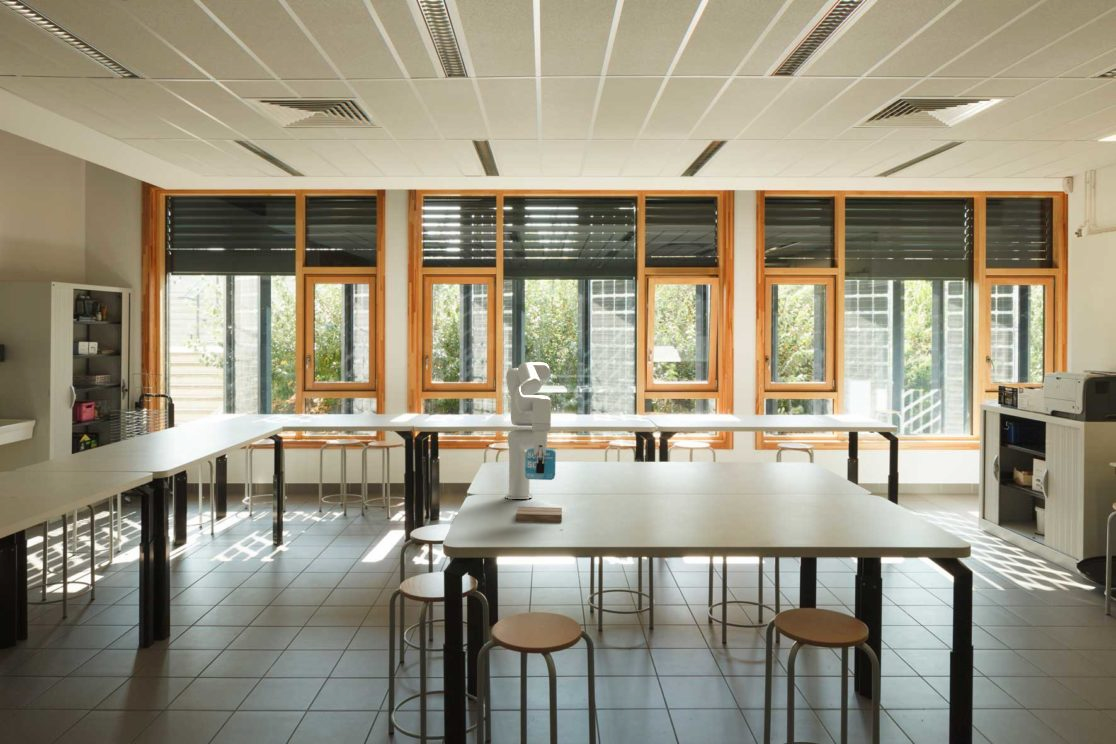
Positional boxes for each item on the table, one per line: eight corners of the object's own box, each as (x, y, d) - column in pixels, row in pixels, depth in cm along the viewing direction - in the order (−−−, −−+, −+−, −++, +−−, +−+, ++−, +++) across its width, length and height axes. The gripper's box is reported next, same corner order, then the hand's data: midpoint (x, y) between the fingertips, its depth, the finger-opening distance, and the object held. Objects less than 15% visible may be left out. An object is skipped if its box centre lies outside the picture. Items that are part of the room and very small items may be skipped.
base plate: (518, 514, 316) (518, 506, 316) (561, 515, 316) (561, 507, 316) (516, 521, 302) (516, 514, 302) (561, 522, 302) (561, 515, 302)
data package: (524, 479, 307) (525, 449, 306) (525, 477, 311) (526, 448, 311) (554, 480, 306) (555, 450, 306) (555, 478, 310) (555, 448, 310)
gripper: (532, 425, 316) (532, 468, 317) (531, 429, 299) (530, 475, 300) (550, 425, 316) (550, 469, 317) (550, 429, 299) (549, 476, 300)
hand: (540, 471), depth 308 cm, fingers closed on data package, 4 cm apart
